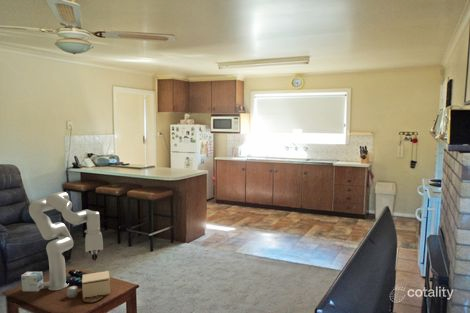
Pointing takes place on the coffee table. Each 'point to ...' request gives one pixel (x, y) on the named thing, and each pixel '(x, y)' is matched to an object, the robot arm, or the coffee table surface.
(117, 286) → the coffee table surface
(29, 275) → the light bulb box
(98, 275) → the carton flap
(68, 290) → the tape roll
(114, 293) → the coffee table surface
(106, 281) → the carton
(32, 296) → the coffee table surface
